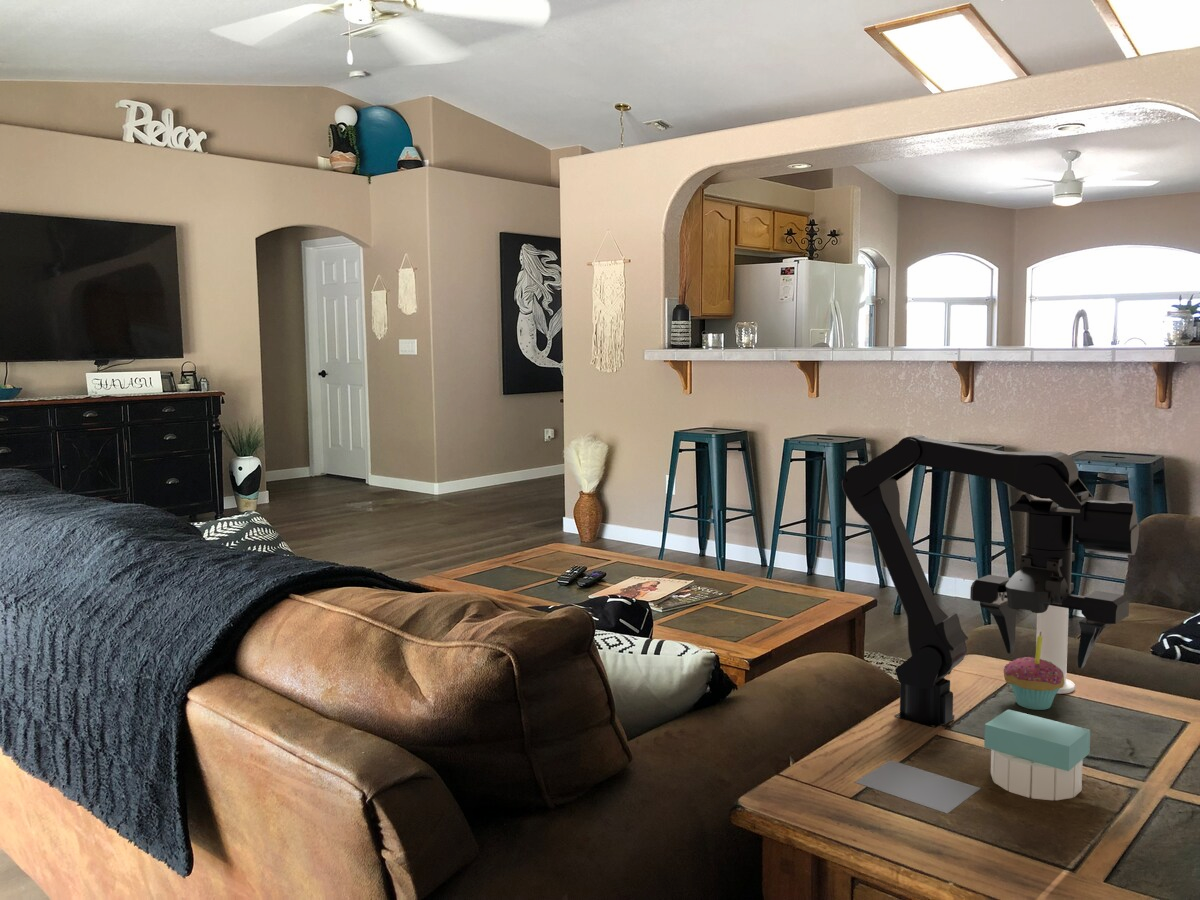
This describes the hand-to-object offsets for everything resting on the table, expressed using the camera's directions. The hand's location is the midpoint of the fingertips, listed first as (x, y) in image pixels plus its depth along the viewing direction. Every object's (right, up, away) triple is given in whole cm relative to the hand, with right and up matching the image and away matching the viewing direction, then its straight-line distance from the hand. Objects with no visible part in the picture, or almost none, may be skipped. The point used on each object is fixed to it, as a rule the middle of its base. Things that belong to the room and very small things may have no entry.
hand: (1044, 660), depth 129 cm
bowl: (-6, -13, -11) cm, 18 cm away
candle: (+12, -10, +24) cm, 29 cm away
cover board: (-6, -9, -11) cm, 15 cm away
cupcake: (+6, -11, +17) cm, 21 cm away
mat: (-21, -13, -11) cm, 27 cm away
